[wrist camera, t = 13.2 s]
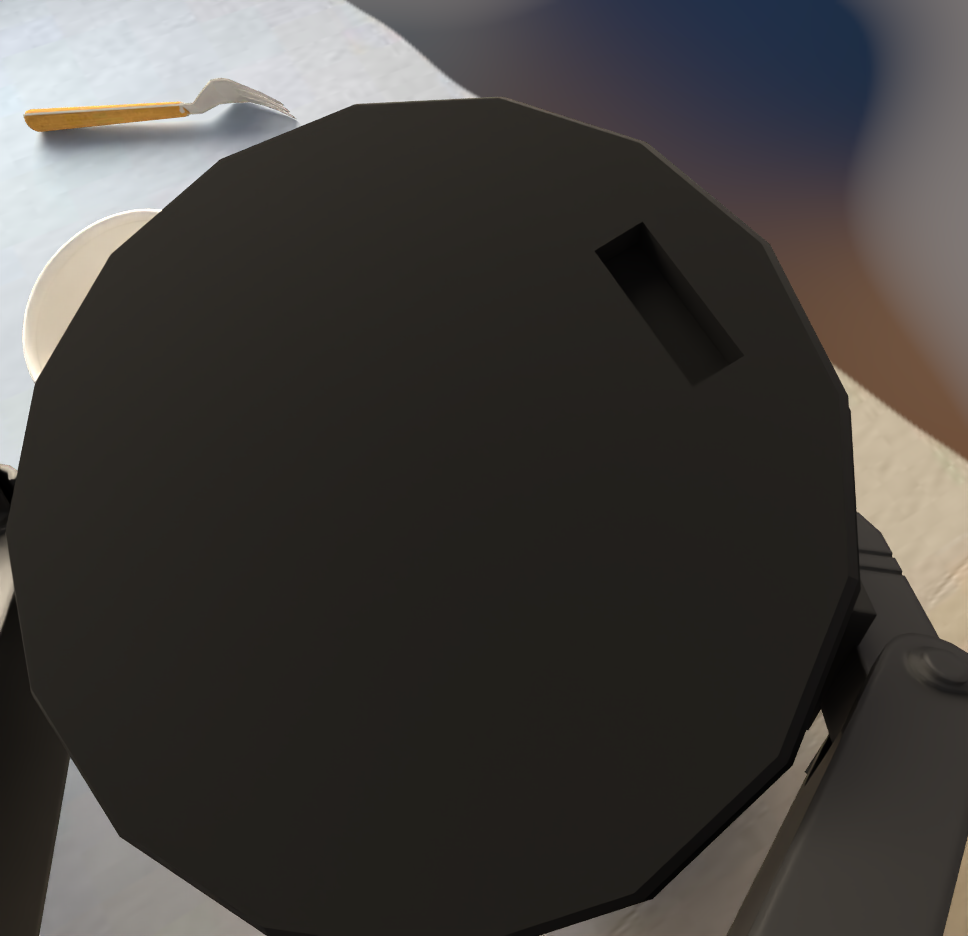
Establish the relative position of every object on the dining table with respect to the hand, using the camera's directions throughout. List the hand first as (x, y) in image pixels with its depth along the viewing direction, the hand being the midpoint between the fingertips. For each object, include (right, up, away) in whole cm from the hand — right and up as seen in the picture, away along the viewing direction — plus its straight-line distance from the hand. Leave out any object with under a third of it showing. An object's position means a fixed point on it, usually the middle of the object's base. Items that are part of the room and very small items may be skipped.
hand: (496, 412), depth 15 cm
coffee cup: (0, -4, +4) cm, 5 cm away
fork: (-23, +23, +27) cm, 42 cm away
